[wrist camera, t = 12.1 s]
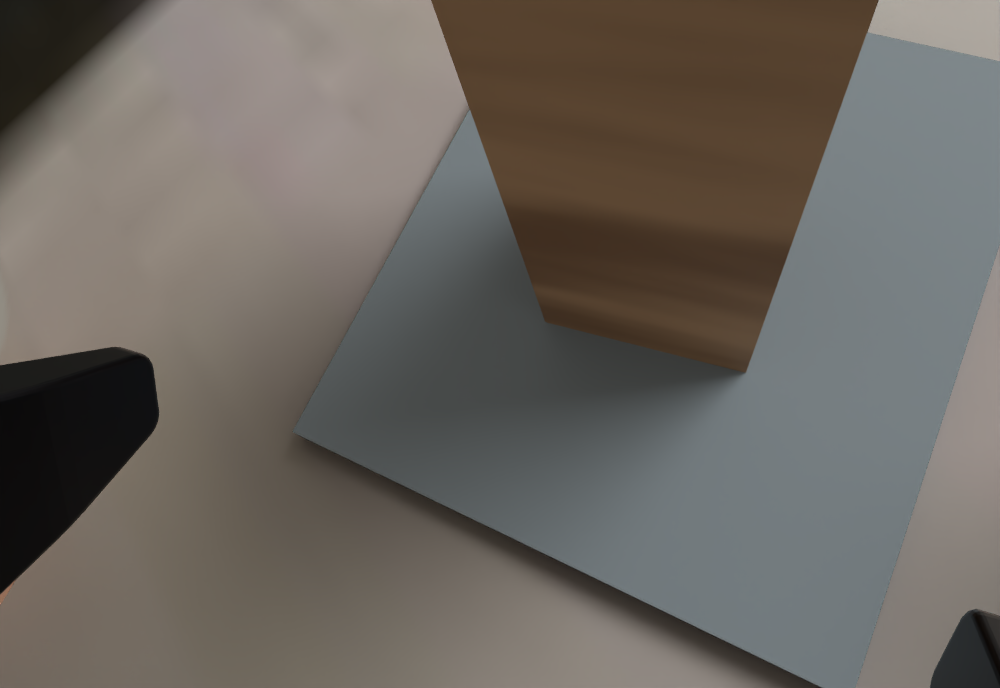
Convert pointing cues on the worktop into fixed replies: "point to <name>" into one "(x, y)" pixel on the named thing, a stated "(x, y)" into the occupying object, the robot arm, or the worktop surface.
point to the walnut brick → (656, 152)
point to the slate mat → (701, 381)
